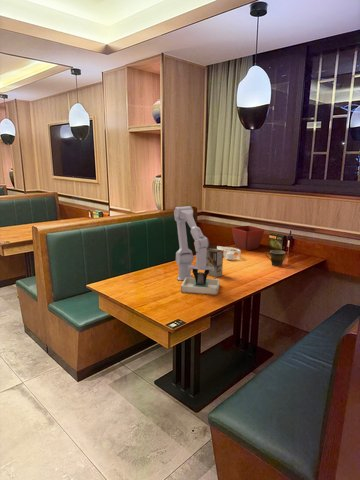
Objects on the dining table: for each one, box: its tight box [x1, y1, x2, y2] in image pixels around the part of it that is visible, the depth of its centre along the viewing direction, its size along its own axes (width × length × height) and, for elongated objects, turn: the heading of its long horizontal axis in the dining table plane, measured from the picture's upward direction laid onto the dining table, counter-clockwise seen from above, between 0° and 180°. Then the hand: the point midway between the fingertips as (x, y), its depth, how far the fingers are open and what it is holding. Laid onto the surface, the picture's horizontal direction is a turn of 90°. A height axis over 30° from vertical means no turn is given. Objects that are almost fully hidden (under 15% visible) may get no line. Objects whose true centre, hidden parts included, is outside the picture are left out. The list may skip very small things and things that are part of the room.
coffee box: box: [206, 247, 224, 278], centre depth 214 cm, size 9×6×16 cm
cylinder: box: [197, 271, 204, 286], centre depth 191 cm, size 4×4×7 cm
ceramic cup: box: [265, 249, 286, 268], centre depth 233 cm, size 13×10×10 cm
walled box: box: [180, 276, 221, 296], centre depth 192 cm, size 15×20×4 cm
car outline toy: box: [216, 245, 242, 261], centre depth 251 cm, size 20×11×7 cm, turn 38°
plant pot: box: [231, 225, 265, 251], centre depth 278 cm, size 19×19×17 cm
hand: (200, 282), depth 191 cm, fingers closed on cylinder, 4 cm apart
